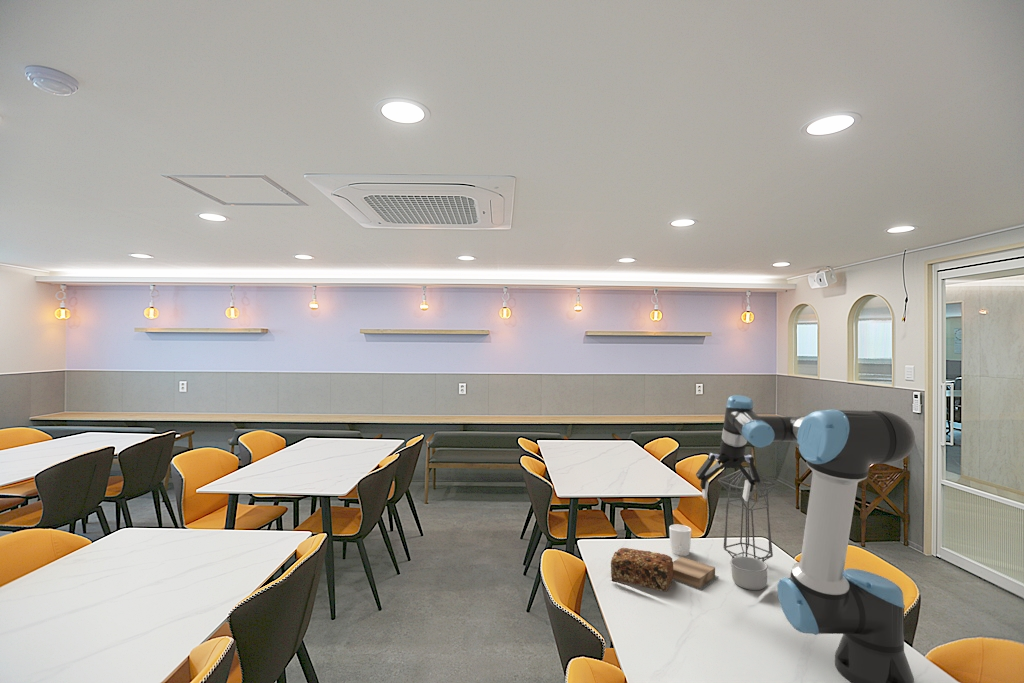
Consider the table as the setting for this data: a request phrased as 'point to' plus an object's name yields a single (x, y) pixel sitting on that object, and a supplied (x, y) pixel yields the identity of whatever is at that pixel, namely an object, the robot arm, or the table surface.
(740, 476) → the geometric lantern
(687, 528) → the white cup
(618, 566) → the bread
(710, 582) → the mat
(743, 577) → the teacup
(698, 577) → the wooden block
